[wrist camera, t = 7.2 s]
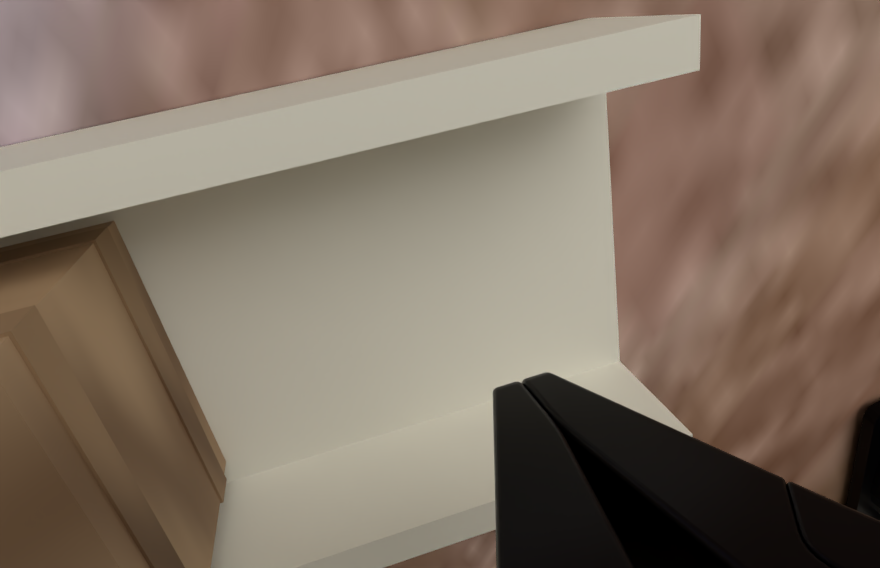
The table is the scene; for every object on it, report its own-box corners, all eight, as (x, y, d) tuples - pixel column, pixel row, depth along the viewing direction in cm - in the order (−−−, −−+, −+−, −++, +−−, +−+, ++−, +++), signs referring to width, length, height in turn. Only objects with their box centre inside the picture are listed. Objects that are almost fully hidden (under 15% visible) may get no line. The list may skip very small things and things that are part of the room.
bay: (610, 388, 16) (703, 491, 12) (-87, 608, 13) (-223, 817, 10) (586, -9, 11) (720, -27, 8) (-460, 213, 9) (-944, 333, 5)
